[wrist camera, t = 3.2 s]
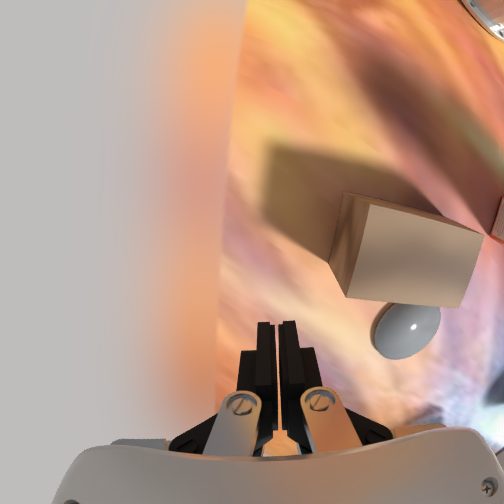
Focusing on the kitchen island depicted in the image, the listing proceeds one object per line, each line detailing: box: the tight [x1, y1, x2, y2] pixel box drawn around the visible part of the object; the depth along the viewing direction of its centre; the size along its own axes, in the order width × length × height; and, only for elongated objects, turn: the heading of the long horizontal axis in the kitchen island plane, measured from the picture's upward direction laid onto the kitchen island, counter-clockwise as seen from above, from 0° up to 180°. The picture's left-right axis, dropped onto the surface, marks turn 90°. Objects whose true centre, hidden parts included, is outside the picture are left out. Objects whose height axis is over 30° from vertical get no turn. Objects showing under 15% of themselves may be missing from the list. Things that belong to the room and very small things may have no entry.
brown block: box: [328, 191, 484, 308], centre depth 21 cm, size 7×12×7 cm, turn 82°
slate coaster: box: [374, 303, 441, 360], centre depth 28 cm, size 9×9×1 cm
